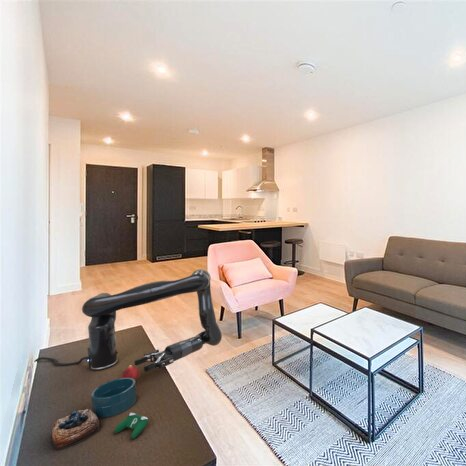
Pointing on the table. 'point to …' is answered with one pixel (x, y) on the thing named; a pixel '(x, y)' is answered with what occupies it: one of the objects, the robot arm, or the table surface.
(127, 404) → the pot
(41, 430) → the table surface
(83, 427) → the pastry
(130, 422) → the gaming controller
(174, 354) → the robot arm
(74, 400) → the table surface
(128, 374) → the onion
